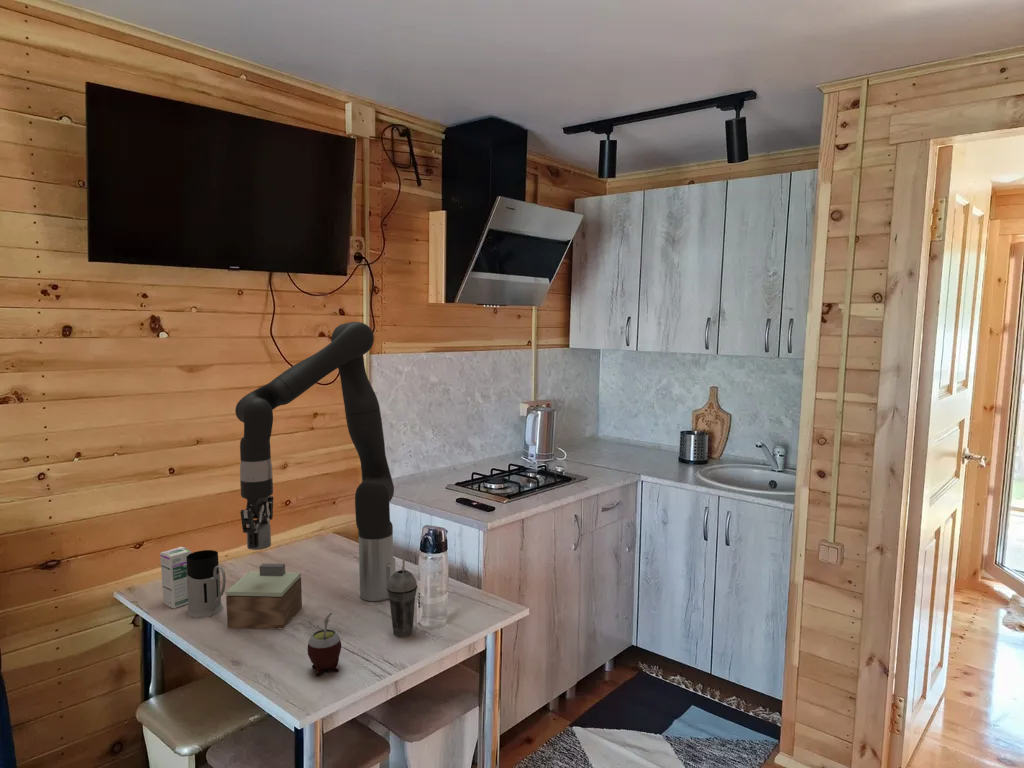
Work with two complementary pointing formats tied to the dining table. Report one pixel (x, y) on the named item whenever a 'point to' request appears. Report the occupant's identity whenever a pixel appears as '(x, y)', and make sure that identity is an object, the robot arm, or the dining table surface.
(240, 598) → the storage box
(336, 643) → the mate gourd
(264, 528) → the grey rounded cylinder
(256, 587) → the lid
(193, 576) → the glass holder
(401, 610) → the beverage cup
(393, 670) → the dining table surface
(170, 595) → the syrup box
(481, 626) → the dining table surface
